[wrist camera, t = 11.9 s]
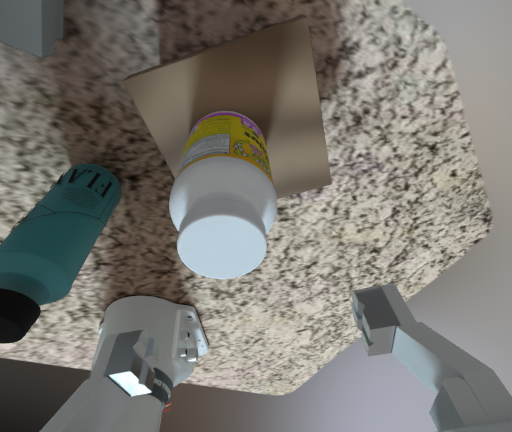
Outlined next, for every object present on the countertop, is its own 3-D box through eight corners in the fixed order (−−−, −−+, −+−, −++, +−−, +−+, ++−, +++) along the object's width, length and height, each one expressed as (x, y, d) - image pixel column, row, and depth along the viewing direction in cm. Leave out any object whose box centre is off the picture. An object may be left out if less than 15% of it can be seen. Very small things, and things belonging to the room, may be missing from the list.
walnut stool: (313, 148, 35) (331, 184, 28) (203, 180, 36) (197, 220, 30) (289, 10, 26) (307, 17, 20) (147, 60, 28) (122, 80, 22)
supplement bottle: (272, 168, 27) (296, 277, 17) (205, 187, 28) (189, 301, 17) (253, 96, 23) (269, 181, 13) (174, 120, 24) (130, 219, 13)
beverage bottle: (132, 167, 35) (47, 315, 19) (121, 208, 38) (41, 362, 22) (73, 146, 33) (-79, 291, 17) (66, 191, 36) (-64, 347, 20)
